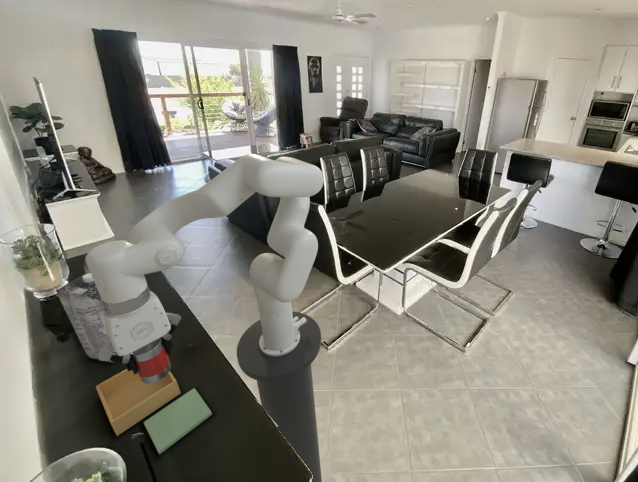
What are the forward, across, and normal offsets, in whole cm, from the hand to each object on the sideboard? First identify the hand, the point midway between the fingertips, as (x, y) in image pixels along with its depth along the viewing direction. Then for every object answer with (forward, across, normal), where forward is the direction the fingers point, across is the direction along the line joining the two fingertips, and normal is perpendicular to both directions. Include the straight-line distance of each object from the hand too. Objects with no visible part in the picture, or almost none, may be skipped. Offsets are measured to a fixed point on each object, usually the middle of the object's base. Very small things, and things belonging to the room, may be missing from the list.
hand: (151, 359), depth 73 cm
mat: (+19, 0, -3) cm, 20 cm away
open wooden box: (+19, -4, +11) cm, 23 cm away
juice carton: (+19, -5, +34) cm, 40 cm away
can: (+4, 0, 0) cm, 4 cm away
